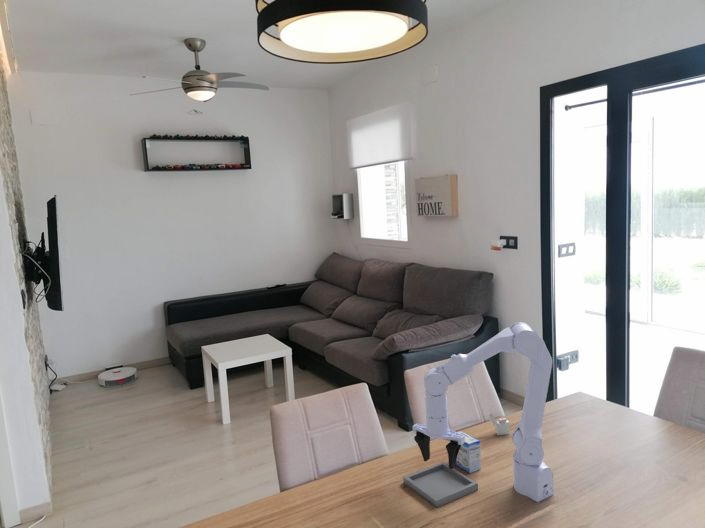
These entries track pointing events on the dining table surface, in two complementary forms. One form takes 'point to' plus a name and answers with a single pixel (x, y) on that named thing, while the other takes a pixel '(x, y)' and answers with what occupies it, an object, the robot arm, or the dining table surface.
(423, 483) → the tray
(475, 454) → the medicine box
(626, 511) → the dining table surface
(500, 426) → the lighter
